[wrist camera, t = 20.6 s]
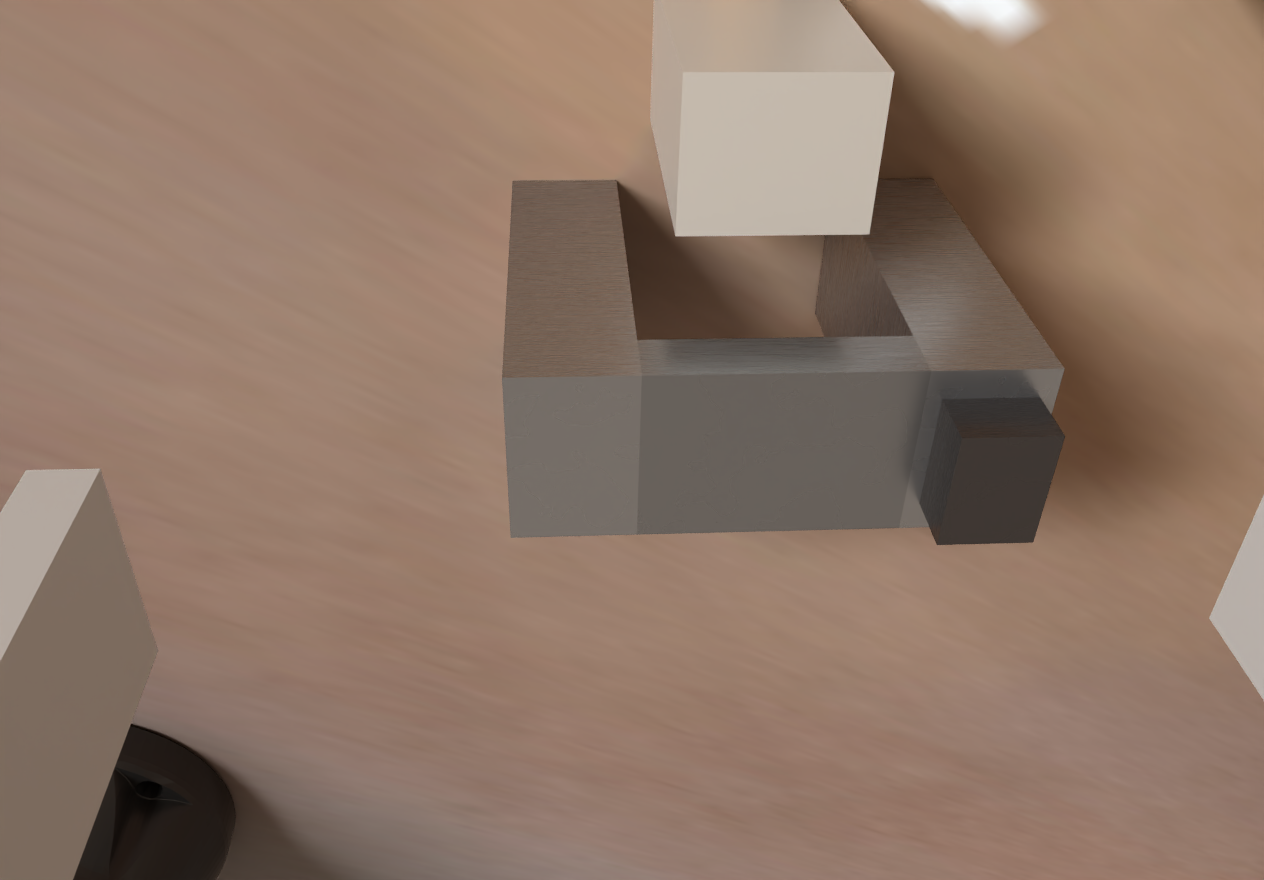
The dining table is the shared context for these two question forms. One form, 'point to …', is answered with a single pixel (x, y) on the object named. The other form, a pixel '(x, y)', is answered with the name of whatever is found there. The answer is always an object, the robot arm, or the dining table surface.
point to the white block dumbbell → (767, 116)
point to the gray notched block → (775, 388)
